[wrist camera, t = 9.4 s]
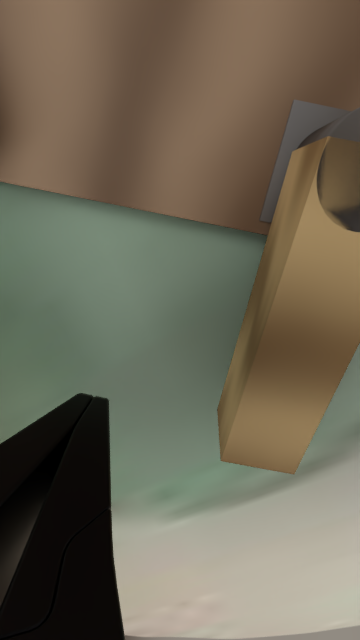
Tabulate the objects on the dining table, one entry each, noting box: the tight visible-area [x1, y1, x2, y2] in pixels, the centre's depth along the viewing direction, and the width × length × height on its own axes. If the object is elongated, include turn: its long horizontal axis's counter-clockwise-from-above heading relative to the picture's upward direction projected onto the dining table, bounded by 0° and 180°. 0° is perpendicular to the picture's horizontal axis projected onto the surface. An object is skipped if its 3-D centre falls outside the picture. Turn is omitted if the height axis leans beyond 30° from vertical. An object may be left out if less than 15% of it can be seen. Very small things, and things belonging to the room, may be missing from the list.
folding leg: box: [217, 107, 360, 474], centre depth 11 cm, size 13×3×3 cm, turn 170°
